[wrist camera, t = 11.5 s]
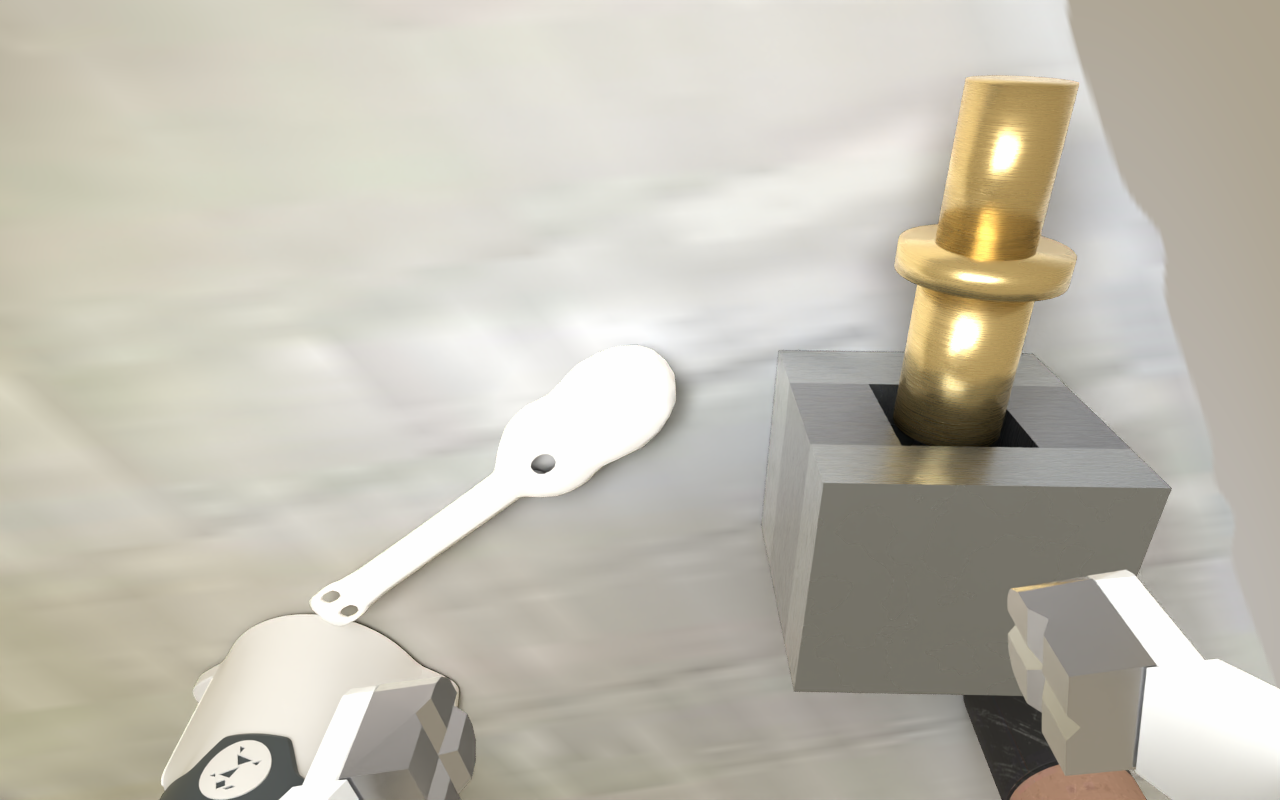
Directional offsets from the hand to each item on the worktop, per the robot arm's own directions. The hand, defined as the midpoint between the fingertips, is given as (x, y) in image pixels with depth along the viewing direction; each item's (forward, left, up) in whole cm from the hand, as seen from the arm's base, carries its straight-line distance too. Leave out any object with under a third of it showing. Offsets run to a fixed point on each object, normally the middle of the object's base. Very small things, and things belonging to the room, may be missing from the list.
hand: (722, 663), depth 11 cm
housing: (-15, -13, -31) cm, 37 cm away
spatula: (-18, +11, -31) cm, 38 cm away
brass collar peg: (-2, -13, -28) cm, 31 cm away
